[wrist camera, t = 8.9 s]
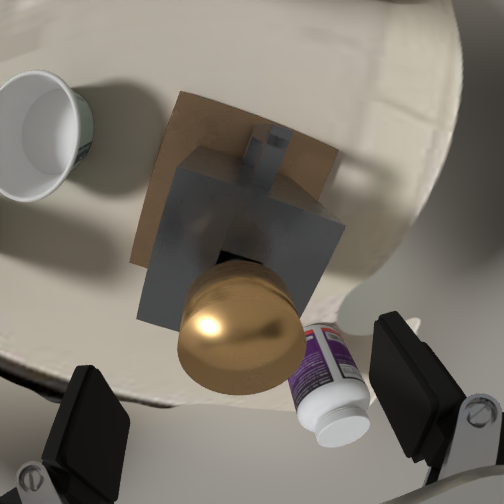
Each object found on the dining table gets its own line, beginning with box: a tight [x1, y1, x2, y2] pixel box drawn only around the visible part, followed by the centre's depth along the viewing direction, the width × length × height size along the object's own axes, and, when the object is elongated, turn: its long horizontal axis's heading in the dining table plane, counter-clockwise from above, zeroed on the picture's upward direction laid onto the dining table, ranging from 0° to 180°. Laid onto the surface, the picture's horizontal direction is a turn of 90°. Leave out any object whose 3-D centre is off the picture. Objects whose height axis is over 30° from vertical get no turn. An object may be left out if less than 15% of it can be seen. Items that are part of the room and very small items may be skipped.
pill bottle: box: [288, 325, 370, 447], centre depth 33 cm, size 8×8×14 cm
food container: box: [0, 70, 94, 202], centre depth 23 cm, size 12×12×6 cm
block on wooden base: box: [130, 91, 345, 332], centre depth 24 cm, size 18×16×16 cm
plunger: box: [177, 251, 306, 395], centre depth 21 cm, size 6×6×20 cm
